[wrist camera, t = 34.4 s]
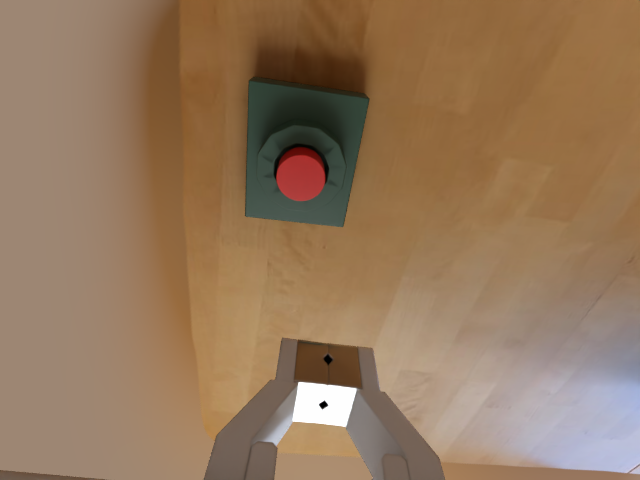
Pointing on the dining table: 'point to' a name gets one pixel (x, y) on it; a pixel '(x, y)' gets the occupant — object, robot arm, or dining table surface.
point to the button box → (302, 131)
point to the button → (300, 174)
